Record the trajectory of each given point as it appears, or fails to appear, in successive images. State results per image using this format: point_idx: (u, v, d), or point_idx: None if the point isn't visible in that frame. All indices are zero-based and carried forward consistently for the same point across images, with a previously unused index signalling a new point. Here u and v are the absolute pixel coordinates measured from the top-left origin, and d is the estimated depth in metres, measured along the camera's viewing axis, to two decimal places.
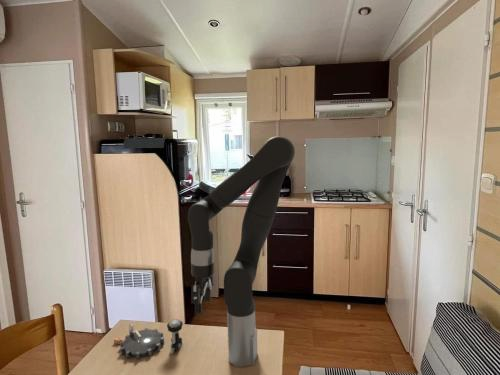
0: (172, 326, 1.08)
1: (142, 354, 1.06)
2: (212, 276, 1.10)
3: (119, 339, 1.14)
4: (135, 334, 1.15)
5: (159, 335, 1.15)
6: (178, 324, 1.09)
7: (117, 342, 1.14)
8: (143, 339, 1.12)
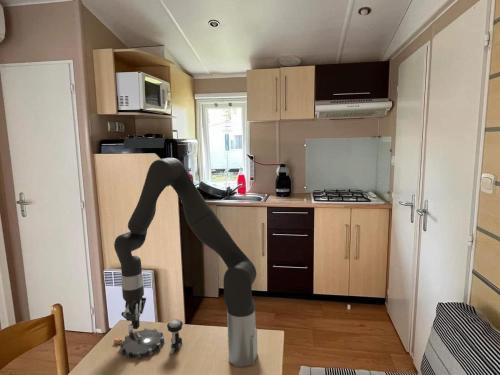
0: (172, 326, 1.08)
1: (143, 354, 1.06)
2: (144, 303, 1.21)
3: (119, 339, 1.14)
4: (135, 334, 1.15)
5: (159, 335, 1.15)
6: (178, 324, 1.09)
7: (117, 342, 1.14)
8: (143, 339, 1.12)
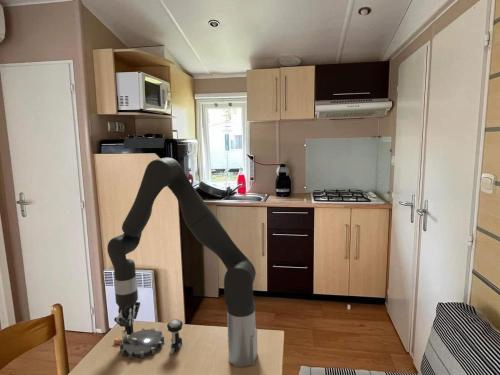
0: (172, 326, 1.08)
1: (155, 349, 1.09)
2: (138, 308, 1.17)
3: (119, 339, 1.14)
4: (128, 339, 1.12)
5: (154, 331, 1.17)
6: (178, 324, 1.09)
7: (117, 342, 1.14)
8: (143, 339, 1.12)
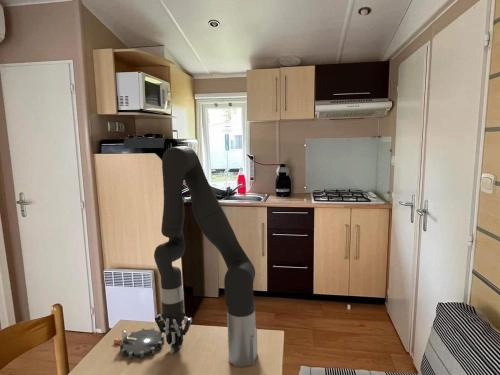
0: (172, 326, 1.08)
1: (155, 349, 1.09)
2: (186, 326, 1.06)
3: (119, 339, 1.14)
4: (128, 339, 1.12)
5: (154, 331, 1.17)
6: None
7: (117, 342, 1.14)
8: (143, 339, 1.12)
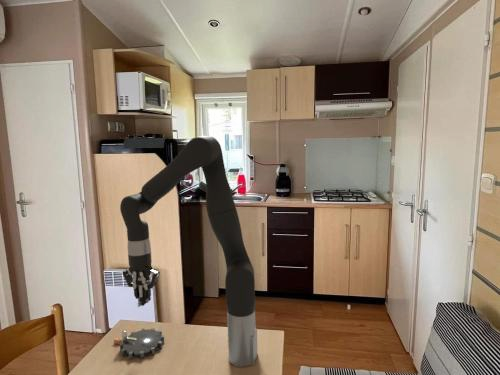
0: (139, 280, 1.08)
1: (155, 349, 1.09)
2: (153, 279, 1.07)
3: (119, 339, 1.14)
4: (128, 339, 1.12)
5: (154, 331, 1.17)
6: None
7: (117, 342, 1.14)
8: (143, 339, 1.12)
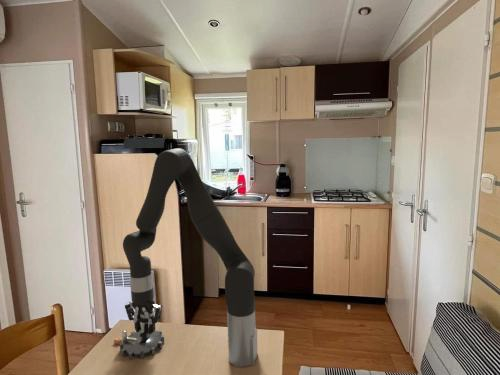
0: (142, 317, 1.10)
1: (155, 349, 1.09)
2: (156, 313, 1.08)
3: (119, 339, 1.14)
4: (128, 339, 1.12)
5: (154, 331, 1.17)
6: None
7: (117, 342, 1.14)
8: None
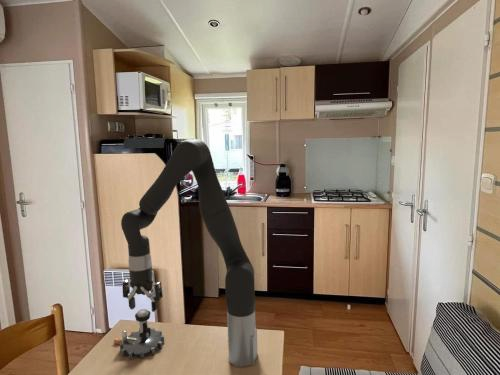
0: (139, 316, 1.11)
1: (155, 349, 1.09)
2: (156, 290, 1.07)
3: (119, 339, 1.14)
4: (128, 339, 1.12)
5: (154, 331, 1.17)
6: (145, 314, 1.11)
7: (117, 342, 1.14)
8: None
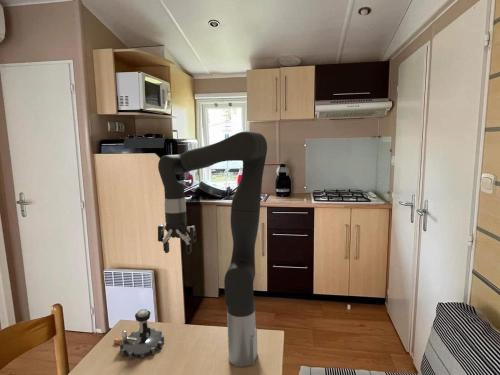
0: (139, 316, 1.11)
1: (155, 349, 1.09)
2: (191, 233, 1.11)
3: (119, 339, 1.14)
4: (128, 339, 1.12)
5: (154, 331, 1.17)
6: (145, 314, 1.11)
7: (117, 342, 1.14)
8: None
